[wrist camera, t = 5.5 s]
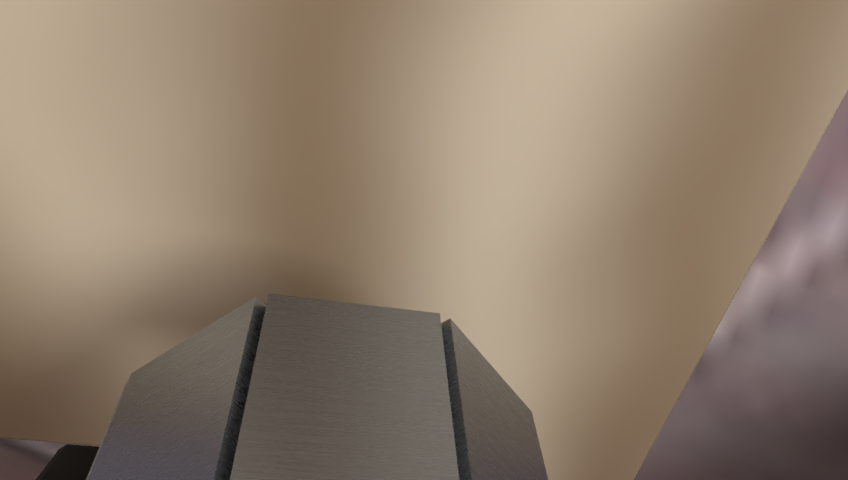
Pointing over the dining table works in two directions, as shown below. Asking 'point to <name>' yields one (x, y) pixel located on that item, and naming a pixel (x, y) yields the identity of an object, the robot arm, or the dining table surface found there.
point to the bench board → (401, 186)
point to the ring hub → (320, 402)
